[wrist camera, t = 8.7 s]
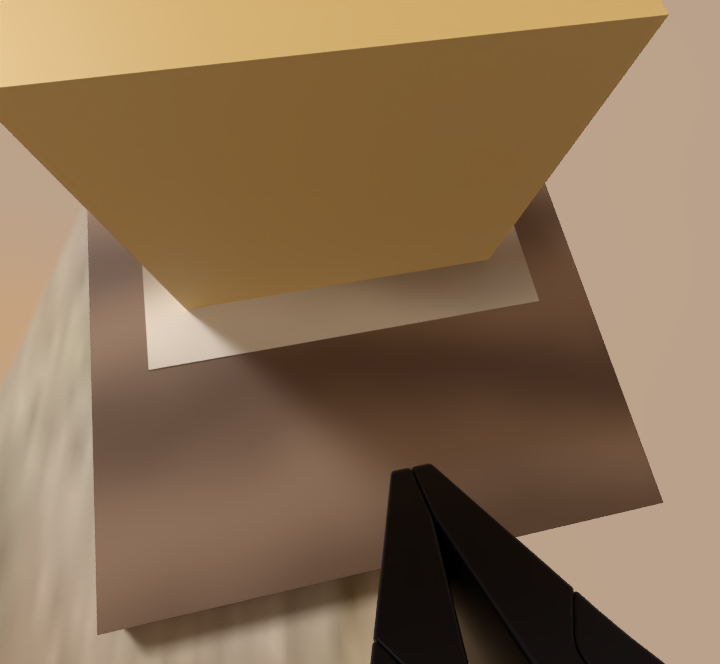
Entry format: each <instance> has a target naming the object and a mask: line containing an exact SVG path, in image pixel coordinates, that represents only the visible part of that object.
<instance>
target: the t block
mask: <svg viewBox="0 0 720 664" xmlns="http://www.w3.org/2000/svg"><path fill="white" fill-rule="evenodd" d="M668 15H669V14H668V12H667V11H666V9H665V7H664V5H663V3H662V1H661V0H0V122H1V123H2V124H3V125H4V126H5V127H6V128H7V129H8V130H9V131H10V132H11V133H12V134H13V135H14V136H15V137H16V138H17V139H18V140H19V141H20V142H21V143H22V144H23V145H24V146H25V147H26V148H27V149H28V150H29V151H30V152H31V154H32V155H33V156H34V157H36V159H37V160H39V161H40V163H42V165H43V166H44V167H45V168H46V169H47V170H48V171H49V172H50V173H51V174H52V175H53V176H54V177H55V178H56V179H57V180H58V181H59V182H60V183H61V184H63V186H64V187H65V188H66V189H67V190H68V191H69V192H70V193H71V194H72V195H73V196H74V197H75V198H76V199H77V200H78V201H79V202H80V203H81V204H82V205H83V206H84V207H85V208H86V209H87V210H88V211H89V212H90V213H91V214H92V215H93V216H94V217H95V218H96V219H97V220H98V221H99V222H100V223H101V224H102V225H103V226H104V227H105V228H106V229H107V230H108V231H109V232H110V233H111V234H112V235H113V236H114V237H115V238H116V239H117V240H118V241H119V242H120V243H121V244H122V245H123V246H124V247H125V248H126V249H127V250H128V251H129V252H130V253H131V254H132V255H133V256H134V257H135V258H136V259H137V260H138V261H139V262H140V263H141V264H142V265H143V266H144V267H145V268H146V269H147V270H148V271H149V272H150V273H151V274H152V275H153V276H154V277H155V278H156V280H157V281H158V282H159V283H160V284H161V285H162V286H163V287H164V288H165V289H166V290H167V291H168V292H169V293H170V294H171V295H172V296H173V297H174V298H175V299H176V300H177V301H178V302H179V303H180V304H181V305H182V306H183V307H184V308H185V309H191V308H198V307H204V306H210V305H216V304H222V303H228V302H234V301H240V300H246V299H252V298H259V297H265V296H271V295H277V294H283V293H289V292H295V291H301V290H307V289H313V288H320V287H326V286H332V285H338V284H344V283H350V282H356V281H362V280H368V279H374V278H380V277H387V276H393V275H399V274H405V273H411V272H417V271H423V270H429V269H435V268H441V267H448V266H454V265H460V264H466V263H472V262H478V261H484V260H489V259H490V257H491V256H492V254H493V253H494V252H495V250H496V249H497V248H498V246H499V245H500V244H501V242H502V241H503V239H504V238H505V237H506V235H507V234H508V233H509V231H510V230H511V229H512V227H513V226H514V224H515V223H516V222H517V220H518V219H519V218H520V216H521V215H522V214H523V212H524V211H525V209H526V208H527V207H528V205H529V204H530V203H531V201H532V200H533V199H534V197H535V196H536V195H537V193H538V192H539V190H540V189H541V188H542V186H543V185H544V184H545V182H546V181H547V180H548V178H549V177H550V175H551V174H552V173H553V171H554V170H555V169H556V167H557V166H558V165H559V163H560V162H561V160H562V159H563V158H564V156H565V155H566V154H567V152H568V151H569V150H570V148H571V147H572V146H573V144H574V143H575V141H576V140H577V139H578V137H579V136H580V135H581V133H582V132H583V131H584V129H585V128H586V126H587V125H588V124H589V122H590V121H591V120H592V118H593V117H594V116H595V114H596V113H597V111H598V110H599V109H600V107H601V106H602V105H603V103H604V102H605V101H606V99H607V98H608V97H609V95H610V94H611V92H612V91H613V90H614V88H615V87H616V86H617V84H618V83H619V82H620V80H621V79H622V77H623V76H624V75H625V73H626V72H627V70H628V69H629V68H630V67H631V65H632V64H633V62H634V61H635V60H636V58H637V57H638V56H639V54H640V53H641V52H642V50H643V49H644V47H645V46H646V45H647V43H648V42H649V40H650V39H651V38H652V37H653V35H654V34H655V33H656V31H657V30H658V28H659V27H660V26H661V24H662V23H663V22H664V20H665V19H666V18H667V16H668Z"/></svg>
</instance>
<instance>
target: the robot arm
mask: <svg viewBox="0 0 720 664" xmlns="http://www.w3.org/2000/svg"><path fill="white" fill-rule="evenodd" d="M373 639H374V643H373V645H372V654H371V664H469V663H470V664H664V663H663V662H662V661H661V660H660V659H658V658H657V657H656V656H654V655H653V654H652V653H650V652H649V651H648V650H647V649H645V648H644V647H643V646H641V645H640V644H639V643H637V642H636V641H635V640H634V639H632V638H631V637H630V636H628V635H627V634H626V633H625V632H624V631H623V630H621V629H620V628H619V627H617V625H615V624H614V623H613V622H612V621H611V620H609V619H608V618H607V617H606V616H605V615H604V614H602V613H601V612H600V611H599V610H598V609H596V608H595V607H594V606H593V605H592V604H591V603H590V602H589V601H587V600H586V599H585V598H584V597H583V596H581V594H579V593H578V592H573V588H572V587H571V586H570V585H569V584H568V583H567V582H565V581H564V580H563V579H562V578H561V577H560V576H559V575H557V574H556V573H555V572H554V571H553V570H552V569H551V568H550V567H549V566H547V565H546V564H545V563H544V562H543V561H542V560H541V559H539V558H538V557H537V556H536V555H535V554H534V553H533V552H531V551H530V550H529V549H528V548H527V547H526V546H525V545H523V544H522V543H521V542H520V541H519V540H518V539H517V538H515V537H514V536H513V535H512V534H511V533H510V532H509V531H508V530H506V529H505V528H504V527H503V526H502V525H501V524H500V523H498V522H497V521H496V520H495V519H494V518H493V517H492V516H490V515H489V514H488V513H487V512H486V511H485V510H484V509H482V508H481V507H480V506H479V505H478V504H477V503H476V502H475V501H473V500H472V499H471V498H470V497H469V496H468V495H467V494H465V493H464V492H463V491H462V490H461V489H460V488H459V487H457V486H456V485H455V484H454V483H453V482H452V481H451V480H449V479H448V478H447V477H446V476H445V475H444V474H443V473H442V472H440V471H439V470H438V469H437V468H436V467H435V466H434V465H432V464H429V463H428V464H423V465H418V466H414V467H413V468H412V469H410V468H404V469H399V470H395V471H392V472H391V476H390V486H389V495H388V505H387V514H386V524H385V533H384V543H383V552H382V562H381V571H380V581H379V590H378V600H377V609H376V619H375V628H374V638H373ZM467 658H468V659H467ZM468 661H469V663H468Z"/></svg>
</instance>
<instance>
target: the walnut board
mask: <svg viewBox="0 0 720 664" xmlns="http://www.w3.org/2000/svg"><path fill="white" fill-rule="evenodd" d="M87 212H88V254H89V296H90V338H91V381H92V423H93V465H94V507H95V549H96V592H97V634H98V635H100V634H104V633H109V632H113V631H117V630H121V629H126V628H130V627H134V626H138V625H143V624H147V623H151V622H156V621H160V620H164V619H168V618H173V617H177V616H181V615H185V614H190V613H194V612H198V611H202V610H207V609H211V608H215V607H220V606H224V605H228V604H232V603H237V602H241V601H245V600H249V599H254V598H258V597H262V596H267V595H271V594H275V593H279V592H284V591H288V590H292V589H296V588H301V587H305V586H309V585H313V584H318V583H322V582H326V581H331V580H335V579H339V578H343V577H348V576H352V575H356V574H360V573H365V572H369V571H373V570H377V569H381V562H382V552H383V543H384V533H385V524H386V514H387V505H388V495H389V486H390V476H391V472H392V471H395V470H399V469H404V468H410V469H412V468H413V467H414V466H418V465H423V464H428V463H429V464H432V465H434V466H435V467H436V468H437V469H438V470H439V471H440V472H442V473H443V474H444V475H445V476H446V477H447V478H448V479H449V480H451V481H452V482H453V483H454V484H455V485H456V486H457V487H459V488H460V489H461V490H462V491H463V492H464V493H465V494H467V495H468V496H469V497H470V498H471V499H472V500H473V501H475V502H476V503H477V504H478V505H479V506H480V507H481V508H482V509H484V510H485V511H486V512H487V513H488V514H489V515H490V516H492V517H493V518H494V519H495V520H496V521H497V522H498V523H500V524H501V525H502V526H503V527H504V528H505V529H506V530H508V531H509V532H510V533H511V534H512V535H513V536H514V537H518V536H523V535H527V534H531V533H535V532H539V531H544V530H548V529H553V528H556V527H561V526H565V525H570V524H574V523H578V522H582V521H587V520H591V519H595V518H599V517H604V516H608V515H612V514H616V513H621V512H625V511H629V510H634V509H638V508H642V507H646V506H651V505H655V504H658V503H663V501H662V498H661V495H660V493H659V490H658V487H657V484H656V482H655V479H654V477H653V474H652V471H651V468H650V466H649V463H648V460H647V458H646V455H645V452H644V449H643V447H642V444H641V442H640V439H639V436H638V434H637V430H636V428H635V426H634V423H633V420H632V417H631V414H630V412H629V409H628V406H627V403H626V401H625V398H624V396H623V393H622V390H621V387H620V385H619V382H618V379H617V376H616V374H615V371H614V368H613V366H612V363H611V360H610V358H609V355H608V352H607V349H606V347H605V344H604V341H603V339H602V336H601V333H600V331H599V328H598V325H597V322H596V320H595V317H594V314H593V312H592V309H591V306H590V304H589V301H588V298H587V295H586V293H585V290H584V287H583V285H582V282H581V280H580V277H579V274H578V271H577V268H576V266H575V263H574V261H573V258H572V255H571V252H570V250H569V247H568V244H567V241H566V239H565V236H564V233H563V231H562V228H561V225H560V223H559V220H558V217H557V215H556V212H555V209H554V207H553V204H552V201H551V198H550V196H549V193H548V190H547V187H546V185H545V184H544V185H543V186H542V188H541V189H540V190H539V192H538V193H537V195H536V196H535V197H534V199H533V200H532V201H531V203H530V204H529V205H528V207H527V208H526V209H525V211H524V212H523V214H522V215H521V216H520V218H519V219H518V220H517V222H516V223H515V224H514V226H513V227H512V229H511V230H510V231H509V233H508V234H507V235H506V237H505V238H504V239H503V241H502V242H501V244H500V245H499V246H498V248H497V249H496V250H495V252H494V253H493V254H492V256H491V257H490V259H489V260H484V261H478V262H472V263H466V264H460V265H454V266H448V267H441V268H435V269H429V270H423V271H417V272H411V273H405V274H399V275H393V276H387V277H380V278H374V279H368V280H362V281H356V282H350V283H344V284H338V285H332V286H326V287H320V288H313V289H307V290H301V291H295V292H289V293H283V294H277V295H271V296H265V297H259V298H252V299H246V300H240V301H234V302H228V303H222V304H216V305H210V306H204V307H198V308H191V309H185V308H184V307H183V306H182V305H181V304H180V303H179V302H178V301H177V300H176V299H175V298H174V297H173V296H172V295H171V294H170V293H169V292H168V291H167V290H166V289H165V288H164V287H163V286H162V285H161V284H160V283H159V282H158V281H157V280H156V278H155V277H154V276H153V275H152V274H151V273H150V272H149V271H148V270H147V269H146V268H145V267H144V266H143V265H142V264H141V263H140V262H139V261H138V260H137V259H136V258H135V257H134V256H133V255H132V254H131V253H130V252H129V251H128V250H127V249H126V248H125V247H124V246H123V245H122V244H121V243H120V242H119V241H118V240H117V239H116V238H115V237H114V236H113V235H112V234H111V233H110V232H109V231H108V230H107V229H106V228H105V227H104V226H103V225H102V224H101V223H100V222H99V221H98V220H97V219H96V218H95V217H94V216H93V215H92V214H91V213H90V212H89V211H88V210H87Z"/></svg>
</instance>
